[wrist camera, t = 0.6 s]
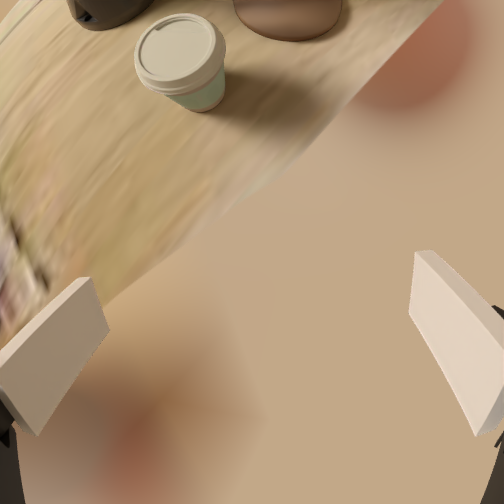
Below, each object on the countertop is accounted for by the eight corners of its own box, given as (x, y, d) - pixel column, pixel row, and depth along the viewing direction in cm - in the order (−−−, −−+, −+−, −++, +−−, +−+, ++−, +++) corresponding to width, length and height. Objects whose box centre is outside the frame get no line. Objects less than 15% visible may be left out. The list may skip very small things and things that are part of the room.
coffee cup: (252, 88, 34) (243, 38, 22) (199, 137, 35) (168, 106, 23) (203, 49, 33) (179, -4, 21) (154, 95, 34) (111, 56, 23)
